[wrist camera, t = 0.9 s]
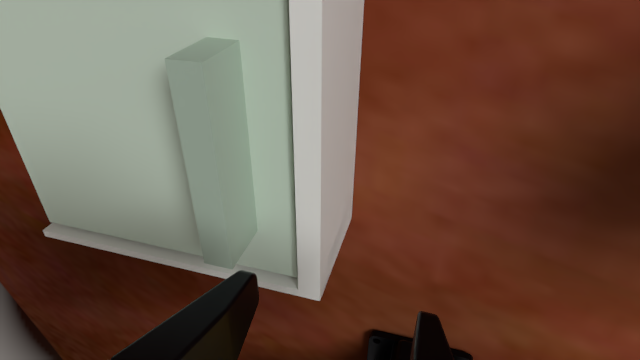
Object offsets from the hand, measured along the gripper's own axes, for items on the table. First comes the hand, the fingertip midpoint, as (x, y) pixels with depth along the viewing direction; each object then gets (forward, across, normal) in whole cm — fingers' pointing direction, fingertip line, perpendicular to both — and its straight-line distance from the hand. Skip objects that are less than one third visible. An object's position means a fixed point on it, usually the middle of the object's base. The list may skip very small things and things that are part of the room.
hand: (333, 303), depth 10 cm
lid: (+7, +10, 0) cm, 12 cm away
